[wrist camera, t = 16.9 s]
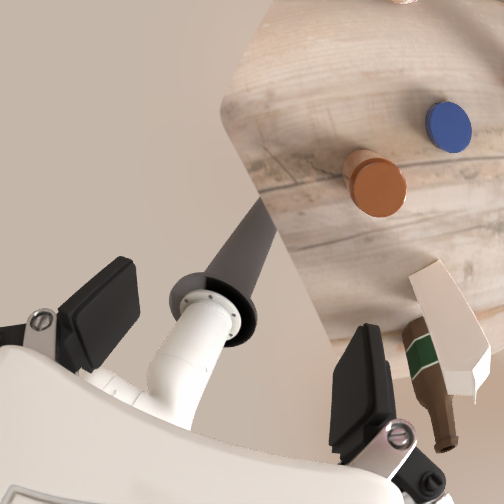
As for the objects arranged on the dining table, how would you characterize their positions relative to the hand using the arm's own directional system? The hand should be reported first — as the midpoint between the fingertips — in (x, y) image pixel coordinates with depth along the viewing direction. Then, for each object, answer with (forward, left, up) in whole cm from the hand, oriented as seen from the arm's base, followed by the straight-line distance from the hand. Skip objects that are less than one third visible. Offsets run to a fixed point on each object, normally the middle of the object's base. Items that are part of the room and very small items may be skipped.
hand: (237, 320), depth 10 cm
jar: (+3, -9, -28) cm, 29 cm away
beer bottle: (-20, -29, -28) cm, 45 cm away
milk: (-10, -25, -28) cm, 39 cm away
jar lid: (+13, -19, -26) cm, 35 cm away
